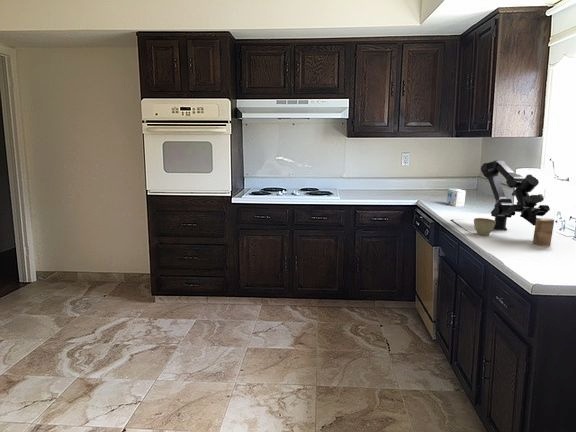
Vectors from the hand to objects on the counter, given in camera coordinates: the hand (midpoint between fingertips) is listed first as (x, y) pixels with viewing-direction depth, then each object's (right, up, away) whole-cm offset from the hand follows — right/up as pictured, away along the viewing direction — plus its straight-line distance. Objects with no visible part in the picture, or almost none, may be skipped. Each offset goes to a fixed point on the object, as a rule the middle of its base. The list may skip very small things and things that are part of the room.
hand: (534, 225), depth 222 cm
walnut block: (+1, -9, -5) cm, 10 cm away
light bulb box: (-3, +11, +99) cm, 99 cm away
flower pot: (-20, -5, +11) cm, 23 cm away
